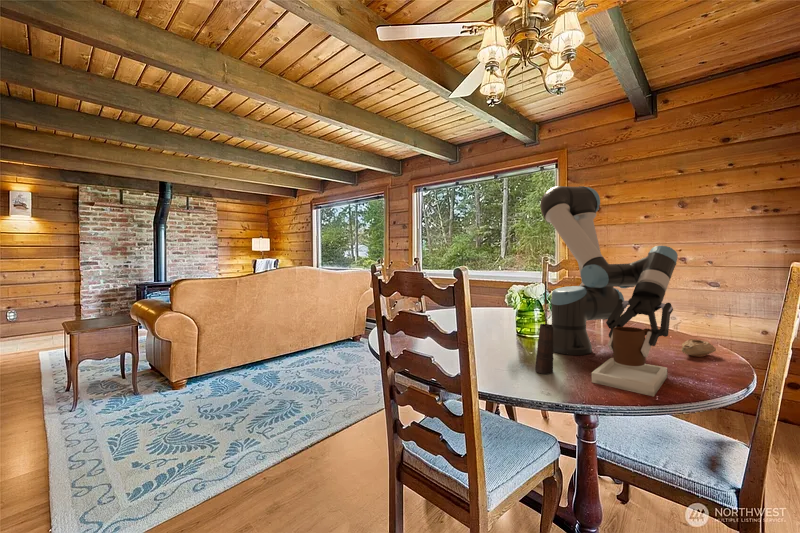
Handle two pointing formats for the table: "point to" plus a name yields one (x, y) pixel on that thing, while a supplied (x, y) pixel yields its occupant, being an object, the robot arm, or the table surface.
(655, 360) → the table surface
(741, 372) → the table surface
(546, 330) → the butter churn
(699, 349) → the pottery oil lamp
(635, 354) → the mug
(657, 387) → the tray
